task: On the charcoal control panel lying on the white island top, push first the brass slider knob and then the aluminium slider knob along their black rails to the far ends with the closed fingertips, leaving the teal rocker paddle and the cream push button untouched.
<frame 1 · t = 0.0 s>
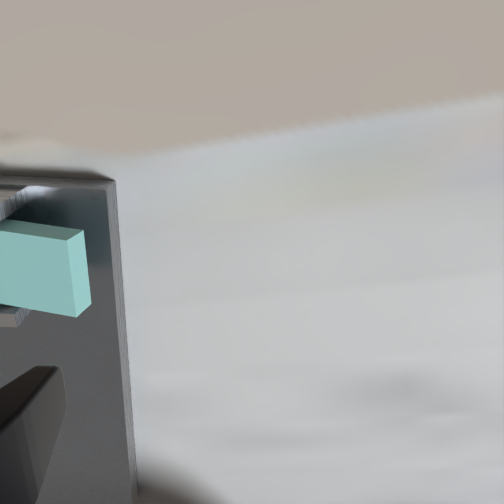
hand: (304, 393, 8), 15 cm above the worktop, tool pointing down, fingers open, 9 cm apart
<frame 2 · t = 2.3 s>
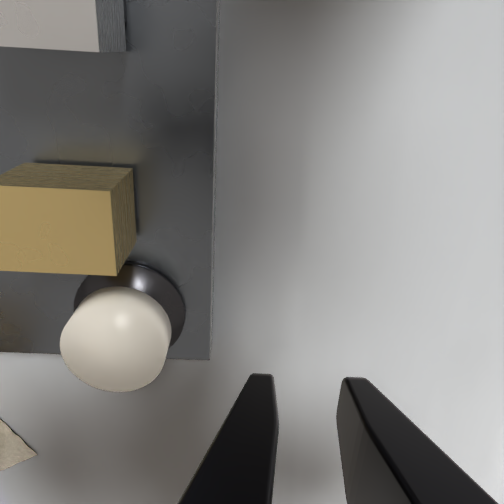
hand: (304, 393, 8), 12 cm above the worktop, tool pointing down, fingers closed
button: (121, 332, 18), point 3 cm above the worktop, slide at 0.0 cm
slider A: (68, 216, 16), point 3 cm above the worktop, slide at 0.0 cm
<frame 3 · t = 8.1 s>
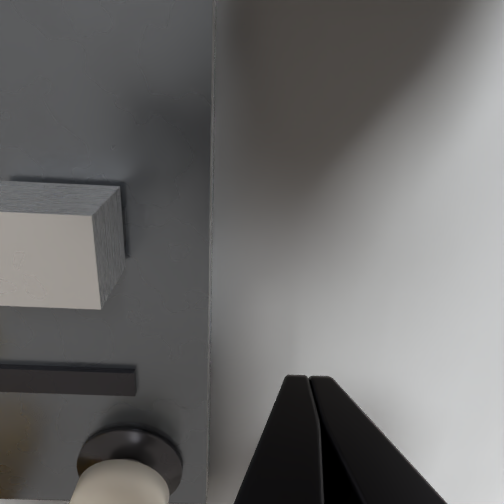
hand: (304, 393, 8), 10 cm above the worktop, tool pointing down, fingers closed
slider B: (47, 241, 14), point 3 cm above the worktop, slide at 0.0 cm
button: (122, 497, 19), point 3 cm above the worktop, slide at 0.0 cm
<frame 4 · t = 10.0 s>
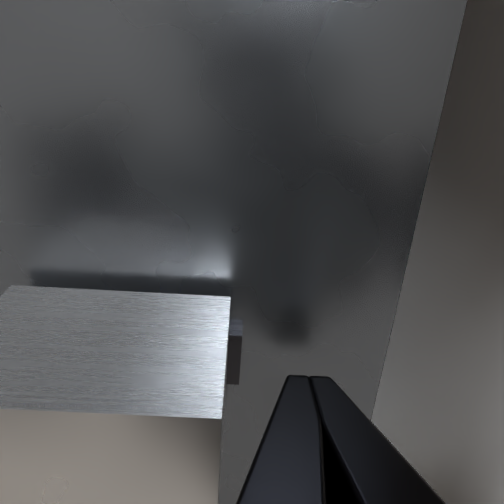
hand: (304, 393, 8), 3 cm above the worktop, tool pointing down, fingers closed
slider B: (103, 413, 7), point 3 cm above the worktop, slide at 0.3 cm, touching gripper
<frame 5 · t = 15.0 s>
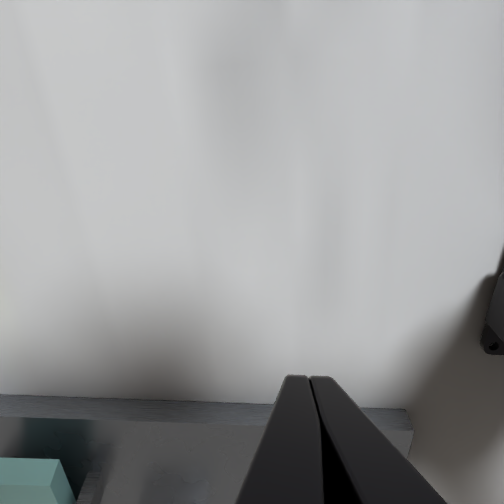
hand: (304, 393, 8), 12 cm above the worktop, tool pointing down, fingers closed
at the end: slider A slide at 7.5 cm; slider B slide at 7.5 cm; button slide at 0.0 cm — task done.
